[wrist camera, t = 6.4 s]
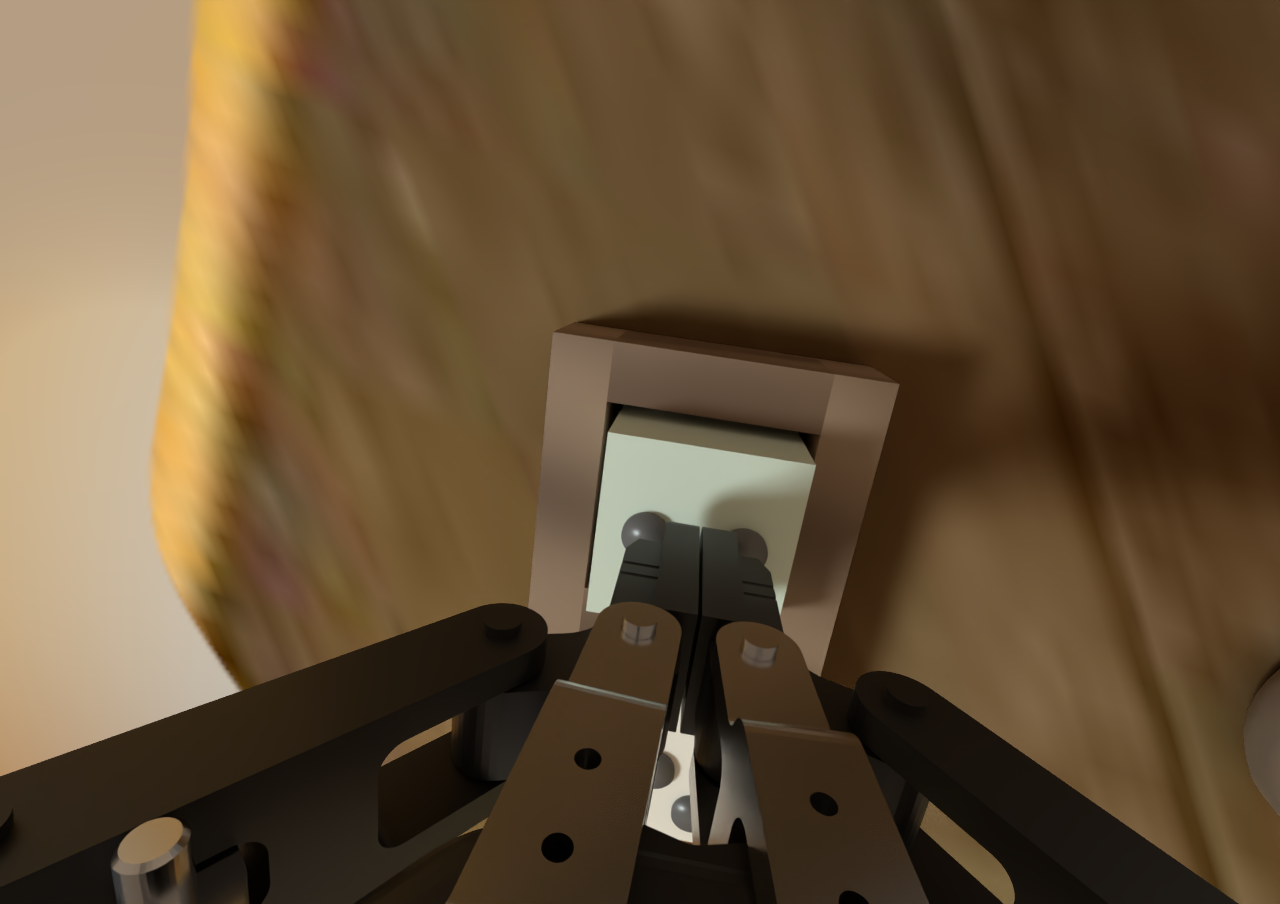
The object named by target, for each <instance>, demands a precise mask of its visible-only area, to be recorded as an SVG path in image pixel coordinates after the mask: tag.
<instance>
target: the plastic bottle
mask: <svg viewBox="0 0 1280 904" xmlns="http://www.w3.org/2000/svg"><path fill="white" fill-rule="evenodd" d="M1243 742H1244V747H1245V753H1246V759H1247V764H1248V767H1249V771H1250V774H1251V778H1252V780H1253V781H1254V783H1255V784H1256V786H1257V788H1258V789H1259V791H1260V792H1261V794H1262V795H1263V796H1264V797H1265V799H1266V800H1267V801H1268V803H1269V804H1270V805H1271V806H1272V808H1273V809H1274V810H1275V811H1276V813H1277V814H1278V815H1279V816H1280V669H1279V670H1278V671H1277V672H1276V673H1274V674H1273V675H1272V676H1271V677H1270V678H1269V679H1268V680H1267V681H1266V682H1265V683H1264V684H1263V686H1262V687H1261V688H1260V689H1259V691H1258V692H1257V693H1256V694H1255V696H1254V698H1253V700H1252V702H1251V704H1250V706H1249V708H1248V709H1247V713H1246V717H1245V720H1244V724H1243Z"/></svg>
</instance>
